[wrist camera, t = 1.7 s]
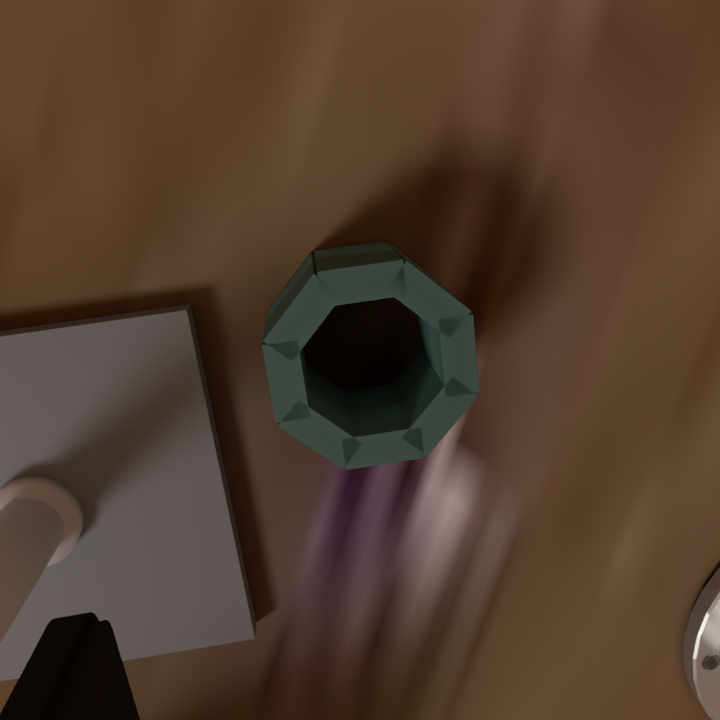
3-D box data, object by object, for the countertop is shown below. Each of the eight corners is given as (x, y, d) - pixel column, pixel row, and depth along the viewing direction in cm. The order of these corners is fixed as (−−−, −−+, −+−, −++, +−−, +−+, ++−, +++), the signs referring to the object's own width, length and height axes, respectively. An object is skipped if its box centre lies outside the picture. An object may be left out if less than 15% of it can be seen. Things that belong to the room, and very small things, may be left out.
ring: (438, 233, 25) (468, 250, 21) (454, 401, 27) (483, 448, 23) (258, 258, 25) (250, 281, 20) (287, 426, 27) (285, 479, 22)
